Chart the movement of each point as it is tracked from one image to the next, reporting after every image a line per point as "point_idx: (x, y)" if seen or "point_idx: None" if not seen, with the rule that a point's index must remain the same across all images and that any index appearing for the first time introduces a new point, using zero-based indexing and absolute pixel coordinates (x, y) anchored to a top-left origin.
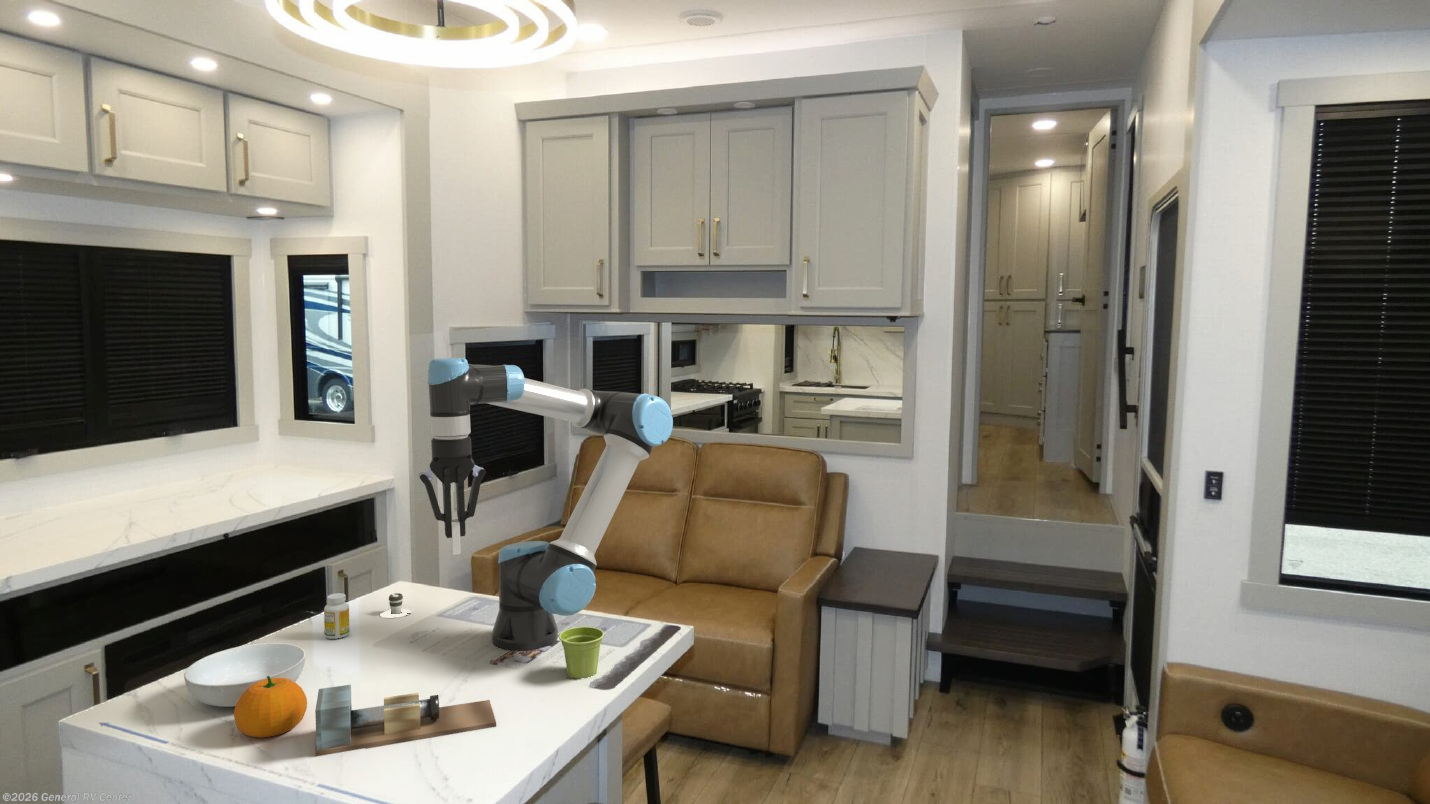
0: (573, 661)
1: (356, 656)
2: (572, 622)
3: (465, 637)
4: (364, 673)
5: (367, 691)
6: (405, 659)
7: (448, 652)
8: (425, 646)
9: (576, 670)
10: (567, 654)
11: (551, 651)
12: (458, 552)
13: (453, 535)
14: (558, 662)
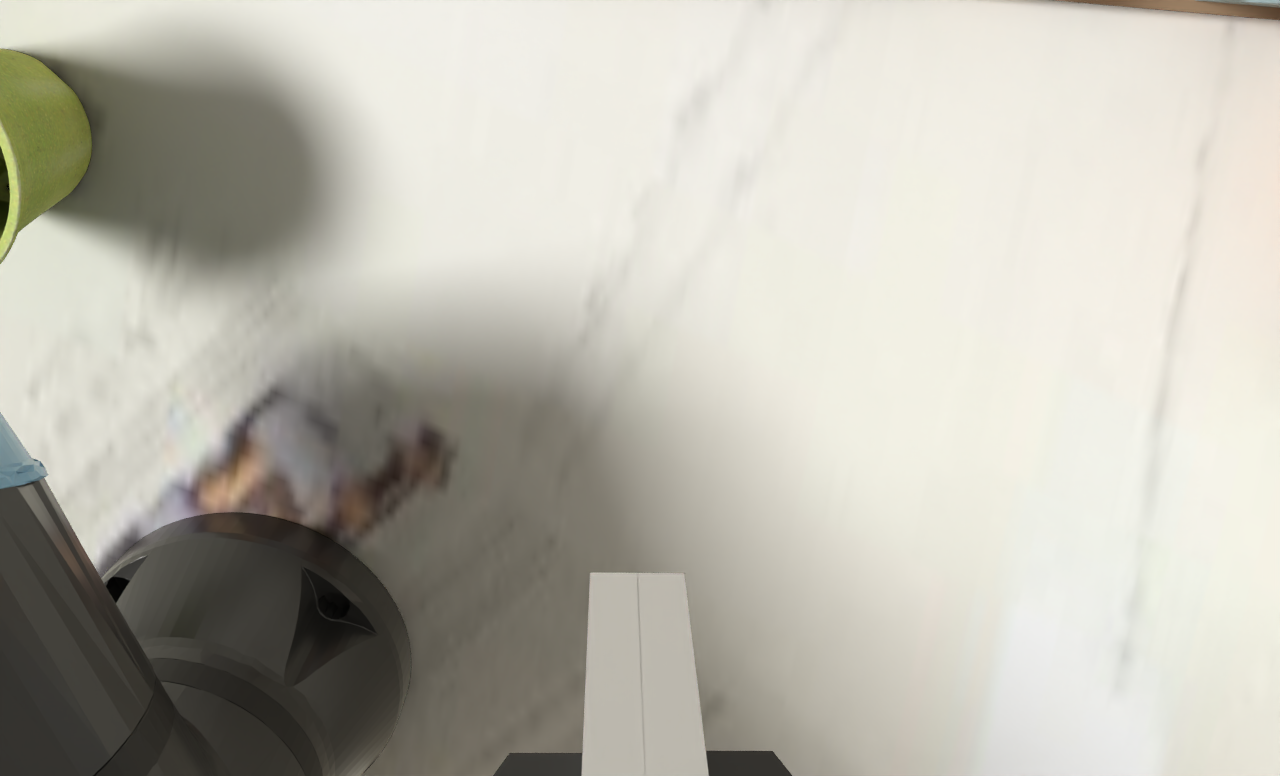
0: (10, 73)
1: (993, 749)
2: None
3: None
4: (1000, 566)
5: (1031, 370)
6: (808, 642)
7: None
8: None
9: (24, 64)
10: (24, 111)
11: (144, 470)
12: (619, 583)
13: (687, 740)
14: (124, 326)
